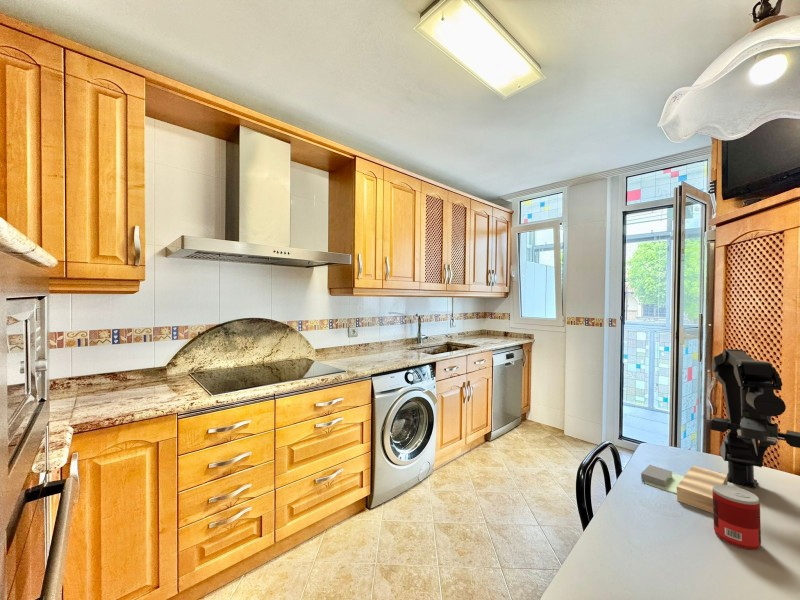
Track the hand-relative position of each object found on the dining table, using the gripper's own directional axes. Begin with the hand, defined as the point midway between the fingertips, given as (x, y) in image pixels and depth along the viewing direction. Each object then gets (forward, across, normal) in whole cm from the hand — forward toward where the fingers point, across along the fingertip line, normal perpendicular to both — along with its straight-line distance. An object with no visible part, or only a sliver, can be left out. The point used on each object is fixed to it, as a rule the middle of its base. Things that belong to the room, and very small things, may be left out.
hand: (757, 462), depth 92 cm
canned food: (+12, -2, -23) cm, 26 cm away
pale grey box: (+10, -22, -4) cm, 25 cm away
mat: (+12, -20, -3) cm, 23 cm away
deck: (+12, -11, -4) cm, 17 cm away
